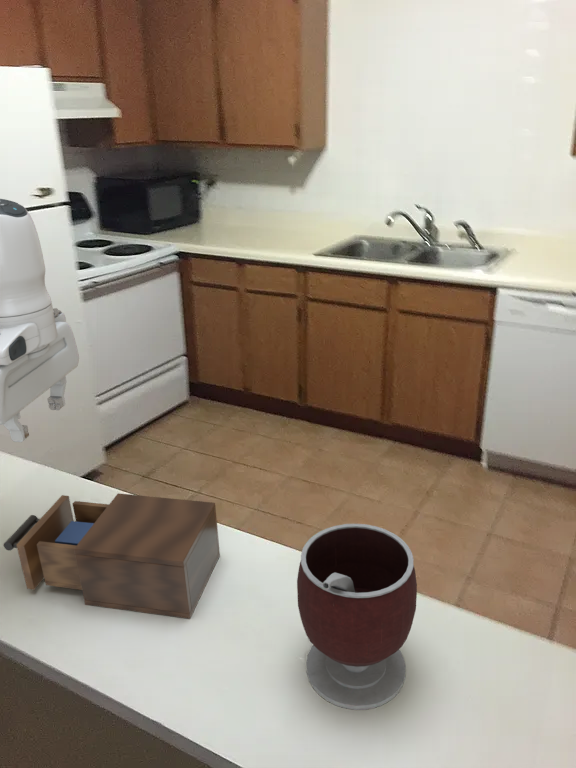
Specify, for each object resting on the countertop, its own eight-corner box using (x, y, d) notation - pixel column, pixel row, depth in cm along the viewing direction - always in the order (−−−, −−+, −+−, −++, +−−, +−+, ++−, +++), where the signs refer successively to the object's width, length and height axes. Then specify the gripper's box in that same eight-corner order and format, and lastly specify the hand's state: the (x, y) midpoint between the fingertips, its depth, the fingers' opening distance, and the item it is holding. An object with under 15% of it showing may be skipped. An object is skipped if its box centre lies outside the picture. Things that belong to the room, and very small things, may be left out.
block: (60, 568, 99) (54, 540, 97) (76, 547, 104) (71, 520, 102) (91, 572, 98) (85, 544, 96) (106, 550, 103) (101, 523, 101)
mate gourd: (327, 614, 92) (326, 490, 84) (426, 647, 86) (435, 518, 78) (274, 699, 79) (266, 564, 71) (385, 745, 73) (390, 604, 65)
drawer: (-1, 585, 98) (-13, 541, 95) (45, 533, 109) (35, 492, 106) (120, 601, 94) (112, 556, 91) (154, 545, 105) (148, 503, 102)
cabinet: (84, 604, 95) (73, 548, 91) (126, 544, 107) (117, 493, 103) (190, 618, 92) (183, 561, 88) (220, 555, 104) (215, 502, 100)
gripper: (41, 303, 96) (58, 390, 102) (-53, 355, 78) (-26, 458, 84) (81, 304, 95) (96, 392, 101) (-5, 358, 77) (19, 462, 83)
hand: (40, 423), depth 92 cm, fingers open, 8 cm apart
